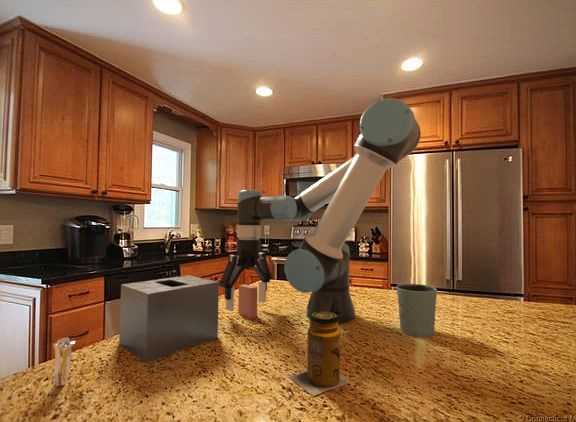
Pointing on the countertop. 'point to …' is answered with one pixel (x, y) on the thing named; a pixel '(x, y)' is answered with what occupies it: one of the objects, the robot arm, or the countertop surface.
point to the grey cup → (417, 309)
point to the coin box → (168, 315)
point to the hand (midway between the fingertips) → (246, 305)
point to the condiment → (322, 355)
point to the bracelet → (62, 371)
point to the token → (247, 301)
